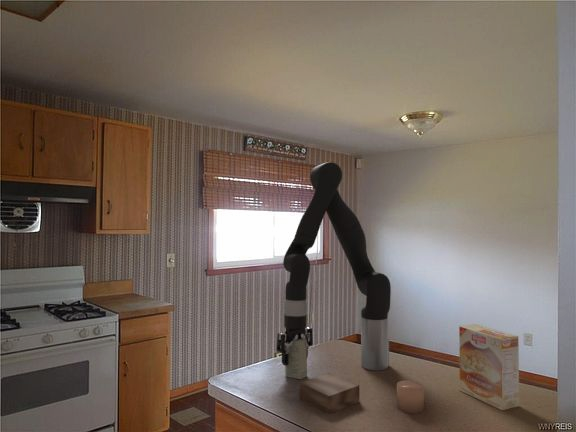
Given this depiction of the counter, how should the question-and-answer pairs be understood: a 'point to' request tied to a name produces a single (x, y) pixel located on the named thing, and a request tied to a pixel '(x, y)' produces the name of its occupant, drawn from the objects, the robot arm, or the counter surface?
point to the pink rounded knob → (410, 396)
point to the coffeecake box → (489, 365)
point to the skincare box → (297, 360)
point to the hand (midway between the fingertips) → (294, 362)
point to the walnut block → (329, 393)
